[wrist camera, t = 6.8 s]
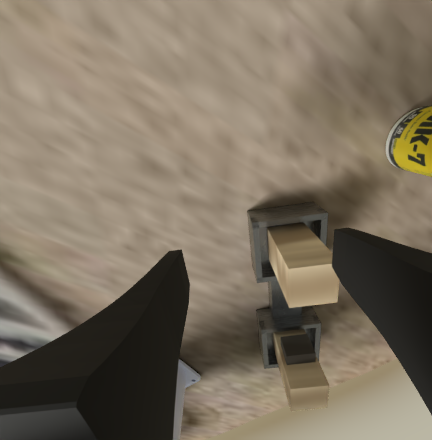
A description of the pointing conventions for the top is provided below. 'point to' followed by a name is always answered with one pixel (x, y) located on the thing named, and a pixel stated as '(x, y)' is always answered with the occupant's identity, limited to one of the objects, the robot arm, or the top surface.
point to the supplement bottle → (412, 142)
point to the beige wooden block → (302, 266)
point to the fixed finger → (300, 370)
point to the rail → (279, 310)
